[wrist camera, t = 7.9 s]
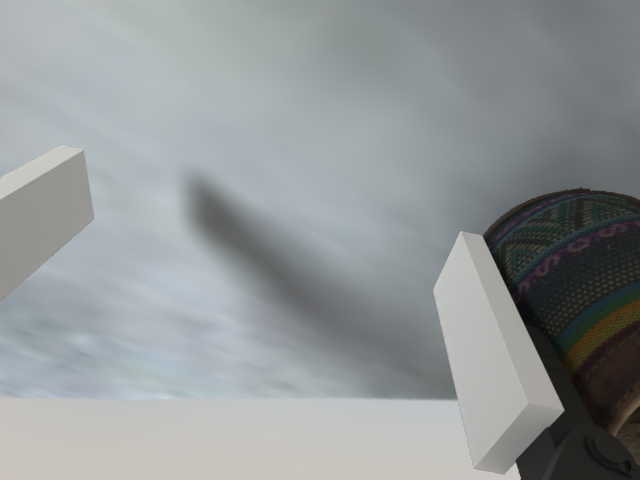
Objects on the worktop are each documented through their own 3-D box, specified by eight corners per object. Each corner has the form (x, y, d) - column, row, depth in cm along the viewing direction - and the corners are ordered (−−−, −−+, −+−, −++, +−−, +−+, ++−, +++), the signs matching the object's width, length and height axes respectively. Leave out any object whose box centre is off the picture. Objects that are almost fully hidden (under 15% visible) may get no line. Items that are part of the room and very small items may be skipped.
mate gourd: (493, 146, 14) (851, 359, 5) (659, 189, 15) (1145, 407, 7) (418, 303, 17) (561, 593, 9) (561, 325, 19) (805, 589, 10)
